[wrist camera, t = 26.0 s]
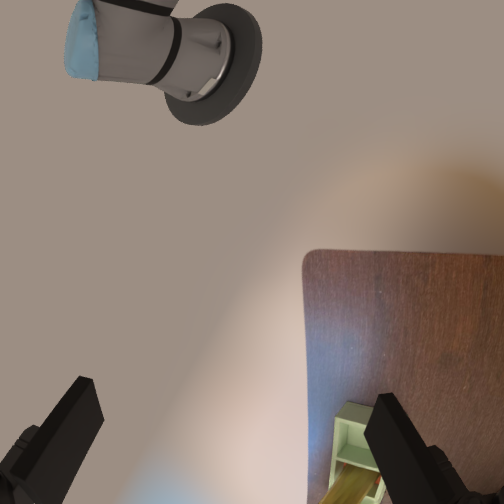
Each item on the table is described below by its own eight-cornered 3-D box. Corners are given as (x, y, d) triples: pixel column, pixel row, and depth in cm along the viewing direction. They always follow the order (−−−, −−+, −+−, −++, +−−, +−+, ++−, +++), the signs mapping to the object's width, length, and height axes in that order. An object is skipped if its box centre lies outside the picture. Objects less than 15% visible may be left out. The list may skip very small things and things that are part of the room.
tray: (346, 401, 35) (334, 416, 33) (408, 414, 29) (399, 432, 27) (336, 494, 39) (325, 507, 37) (378, 507, 33) (369, 522, 31)
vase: (365, 450, 34) (313, 520, 23) (389, 472, 31) (343, 543, 21) (340, 462, 37) (288, 523, 26) (363, 482, 34) (316, 544, 24)
